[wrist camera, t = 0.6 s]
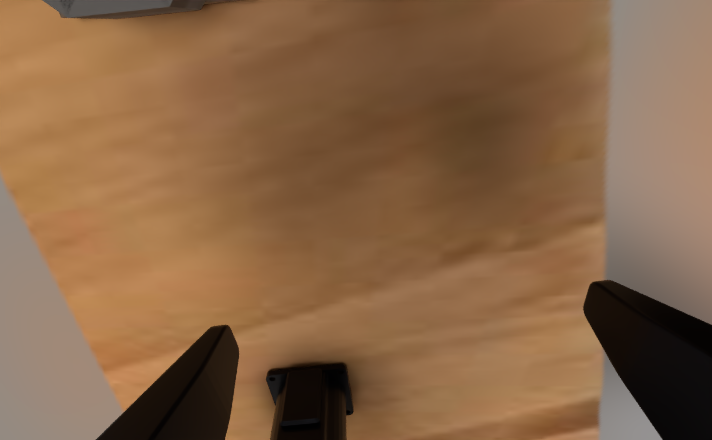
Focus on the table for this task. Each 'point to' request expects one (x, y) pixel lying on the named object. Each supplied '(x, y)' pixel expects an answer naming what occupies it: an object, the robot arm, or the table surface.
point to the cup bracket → (124, 7)
